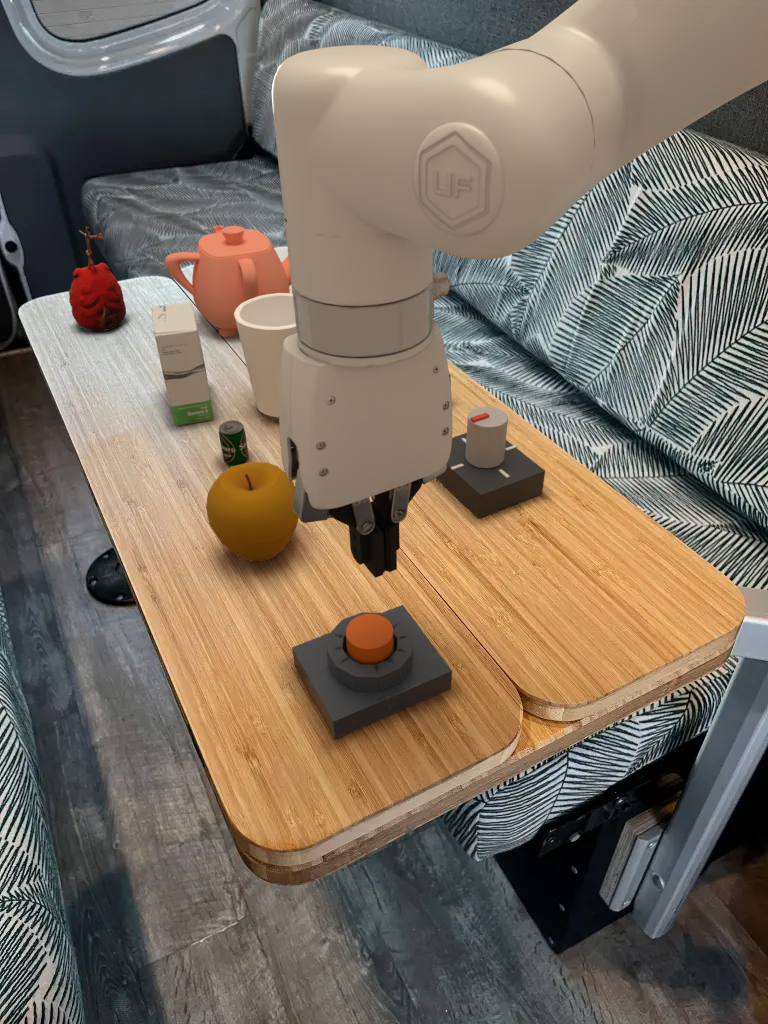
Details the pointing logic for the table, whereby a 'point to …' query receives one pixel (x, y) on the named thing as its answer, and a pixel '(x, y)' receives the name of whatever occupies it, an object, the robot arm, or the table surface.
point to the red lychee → (96, 294)
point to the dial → (486, 436)
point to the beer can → (233, 443)
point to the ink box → (182, 362)
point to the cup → (265, 344)
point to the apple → (252, 510)
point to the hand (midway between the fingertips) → (375, 561)
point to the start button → (369, 639)
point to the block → (370, 674)
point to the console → (491, 479)
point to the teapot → (230, 273)
